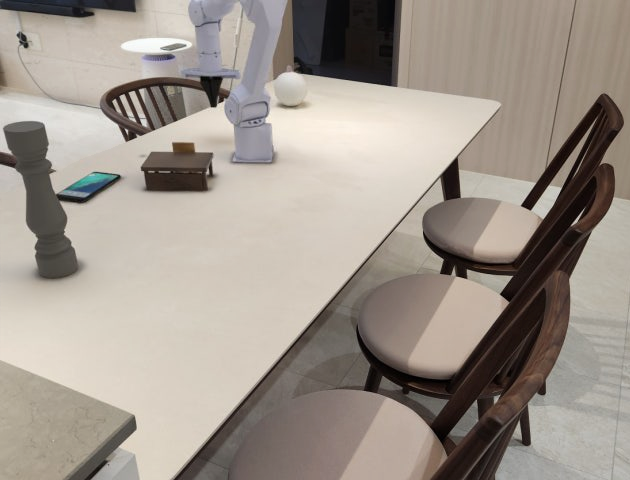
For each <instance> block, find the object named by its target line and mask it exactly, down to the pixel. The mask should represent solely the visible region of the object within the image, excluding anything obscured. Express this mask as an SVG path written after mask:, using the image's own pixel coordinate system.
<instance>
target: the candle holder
mask: <svg viewBox="0 0 630 480" xmlns="http://www.w3.org/2000/svg"><path fill="white" fill-rule="evenodd" d="M2 130H3V134H4V138H5V141H6V145H7V149H8V150H9V151H10V153H11V155H12V156H13V157H14V158H15V159H16V160H17V163H16V164H15V165H14V169H15V171H16V172H17V173H19V174H20V175H21V177H22V180H23V185H24V188H25V189H24V190H25V224H26V226H27V228H28V229H29V231H31V233H33V234H34V235H35V237H36V239H37V240H36V242H35V245H34V247H33V248H34V251H35V254H34V259H35V261H36V266H37V269H38V273H39V275H40V276H41V277H43V278H46V279H60V278H61V279H62V278H65V277H68V276H71V275H73V274H74V273H75V272H77V270H78V269H79V261H78V257H77V253H76V249H75V248H74V247H73V245H72V240H71V239H70V238H69V237H67V235H66V234H65V233H66V227H67V224H68V215H67V213H66V211H65V209H64V206H63V205H62V203H61V201H60V199H58V197H57V196H56V194H57V193H56V191H55V190H54V188H53V184H52V179H51V174H50V170H51V169H52V166H53V163H52V161H51V160H50V159H47V158H46V157H47V153H48V151H49V145H50V143H49V138H48V134H47V129H46V125H45V123H44V122H42V121H38V120H22V121H21V120H20V121H15V122H12V123H8V124H6V125H4V126H3V128H2Z"/></svg>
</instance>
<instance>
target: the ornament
mask: <svg viewBox="0 0 630 480" xmlns="http://www.w3.org/2000/svg"><path fill="white" fill-rule="evenodd" d="M285 70H286V71H285V72H283V73H280V74H279V75H278V76H277V77H276V79H275V81H274V85H273V91H274V92H273V93H274V96H275V98H276V99H277V101H278V102H279V103H280V104H282V105H284V106H287V107H295V106H298V105H300V104H302V103H303V102H304V101H305V99H306V97H307V93H308V86H307V82H306V80H305V78H304V77H303V76H302V75H301V74H299V73H297V72H295V71H293V68H292V65H287V66H286V69H285Z"/></svg>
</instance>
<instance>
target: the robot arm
mask: <svg viewBox="0 0 630 480" xmlns="http://www.w3.org/2000/svg"><path fill="white" fill-rule="evenodd" d="M288 1H289V0H190V2H189V3H188V7H187V8H188V9H187V11H188V12H187V13H188V17H189V20H190V22H191V24H192V25H193V26H194V32H195V42H196V43H195V44H196V53H197V63H198V67H193V68H191V67H190V68H181V69H180V76H181V79H189V78H191V79H193V78H194V79H199V84H200V86H201V87H202V89H203V90H204V93H205V95H206V97H207V100H208V102H209V107H210V108H211V109H212V108H213V109H214V108H215V109H216V108H217V107H218V101H219V100H218V99H219V93H220V89H221V86H222V83H223V80H224V79H233V80H241V81H240V83H239V84H238V85H237V86H235V87H234V88H232V89H231V90H230V91H229V95H228V97H227V98H226V99H225V101H224V106H223V107H224V108H223V109H224V114H225V115H224V116H225V117H226V119H227V120H228V122H229V123H230V124H232V125H233V138H234V150H235V152H234V155H233V158H232V163H261V164H263V163H264V164H265V163H268V164H269V163H272V162H273V156H274V153H275V148H274V147H275V145H274V144H273V143H274V140H273V139H274V138H273V125H272V122H271V123H270V122H267V120H266V119H267V118H268V117H269V115H270V111H271V105H270V104H271V100H272V97H271V95H270V93H269V91H268V90H267V88H265V87H266V82H267V79H268V77H269V73H270V69H271V66H272V63H273V59H274V56H275V51H276V48H277V45H278V42H279V37H280V35H281V30H282V28H283V27H282V26H283V25H282V24H283V17H284V14H285V11H286V8H287V4H288ZM237 3H240V6H241V8H242V10H243V12H244V14H245V16H246V18H247V20H248V21H249V22H251V23H252V24H254V28H253V33H252V37H251V40H250V45H249V50H248V53H247V57H246V61H245V64H244V70H243V72H242V74H241V70H240V69H231V68H224V67H223V62H222V61H223V60H222V52H221V51H222V49H221V38H220V32H221V31H222V23H223V18H224V17H226V16H228V15H230V14H231V13H232V12H233V11H234V9H235V5H236V4H237ZM241 75H242V77H241Z"/></svg>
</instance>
